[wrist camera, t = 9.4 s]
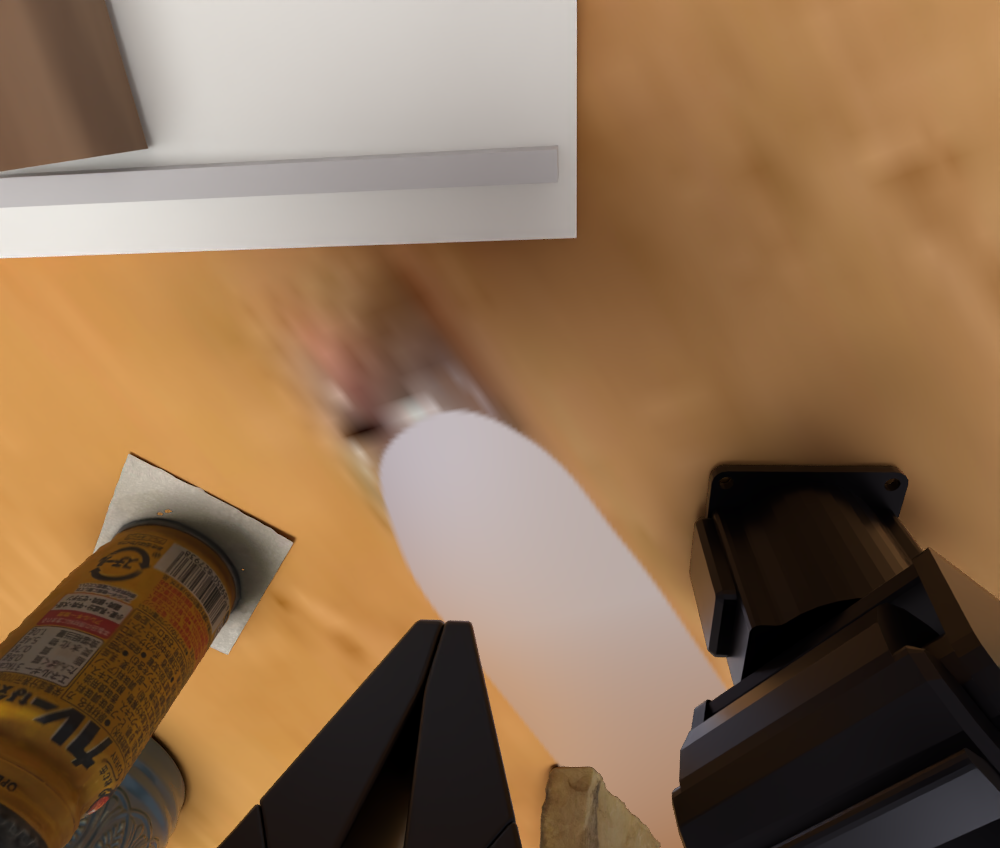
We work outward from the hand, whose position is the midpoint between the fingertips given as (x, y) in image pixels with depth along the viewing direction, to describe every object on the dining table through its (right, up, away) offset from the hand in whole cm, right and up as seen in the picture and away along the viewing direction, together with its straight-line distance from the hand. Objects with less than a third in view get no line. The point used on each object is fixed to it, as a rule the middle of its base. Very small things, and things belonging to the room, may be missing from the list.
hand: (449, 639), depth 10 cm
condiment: (-13, -3, +18) cm, 22 cm away
